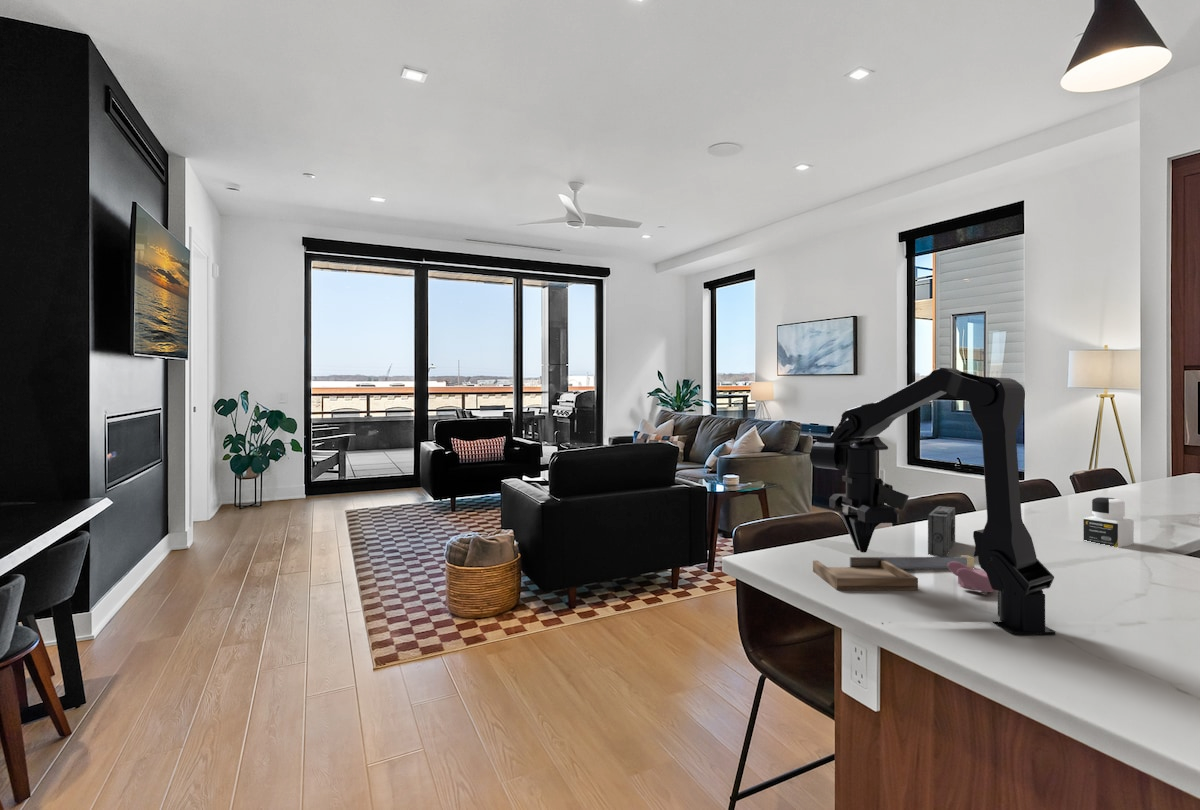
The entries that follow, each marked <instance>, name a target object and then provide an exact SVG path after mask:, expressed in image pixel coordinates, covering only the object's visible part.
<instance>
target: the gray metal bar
mask: <svg viewBox="0 0 1200 810" xmlns="http://www.w3.org/2000/svg"><path fill="white" fill-rule="evenodd" d="M881 561H887V562H889V563H891V564H893V565H895V566H896V567H898V568H900V569H902V570H949V568H948V566H947V565H948V563H949V562H951V561H957V562H960V563H962V564H964V565H966V566H968V567H970V568H974V569H975V557H974V556H971V555H969V554H961V555H960V556H946V557H943V556H849V567H881Z"/></svg>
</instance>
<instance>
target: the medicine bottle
mask: <svg viewBox="0 0 1200 810" xmlns="http://www.w3.org/2000/svg"><path fill="white" fill-rule="evenodd" d="M1125 505H1126V504H1125V501H1124V500H1122V499H1120V498H1114V497H1104V496H1103V497H1099V496H1098V497H1095V498H1093V499H1092V500H1091V510H1092V511H1091V514H1092V515H1093V516H1085V517H1083V541H1084V540H1087V541H1091V542H1096V543H1100V544H1099V545H1101V544H1105V545H1104V546H1106V545H1110V546H1109V547H1112V546H1114V547H1113V548H1117V547H1119V548H1122V546H1123V547H1126V546H1127V547H1128V546H1132V545H1134V542H1135V541H1134V539H1135V538H1134V536H1135V534H1134V528H1135V527H1134V525H1135V524H1134V520H1133V519H1130V518H1125V517H1126V512H1125V511H1126V506H1125ZM1091 542H1090V543H1091ZM1096 543H1095V544H1096ZM1131 544H1132V545H1131Z"/></svg>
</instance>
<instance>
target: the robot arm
mask: <svg viewBox="0 0 1200 810" xmlns="http://www.w3.org/2000/svg"><path fill="white" fill-rule="evenodd" d="M946 394H948V395H950V396H953V397H954V398H957V399H959V400H963V401H965V402H968V405H969V409H970V412H971V416H972V418H973V421H974V422H975V423H976V426H977V427H978V429H979V430H980V433H981V442H982V443H981V445H982V457H983V458H982V459H983V471H984V472H983V473H984V475H983V477H984V487H985V503H986V523H985V525H984V528H983V529H978V530H974V531H973V533H972V534H973V535H972V537H973V540H974V545H975V547H974V548H975V549H974V553H973V557H974V558H976V557H977V561H978V565H979V567H980V568H981V570H982V571H985V572H986V573H987V576H988V579H989V582H990V584H991V587H992V589H993V590H995V591H997V616H998V617H999V621H992V624H995V625H996V626H998V627H1000V628H1001V629H1004V630H1005V631H1007V632H1008V633H1011V634H1013V635H1017V636H1018V635H1027V636H1028V635H1030V636H1033V635H1036V636H1037V635H1039V636H1040V635H1048V636H1049V635H1051V636H1052V635H1056V630H1054V629H1052V628H1051V627H1048V626H1046V594H1045V593H1044V591H1043V590H1045V589H1050V588H1051V586H1052V584H1053V582H1054V581H1055V580H1054V579H1055V575H1053V574H1052V572H1051V571H1049V569H1048V568H1047V567H1046V566H1045V565H1044V564H1043V563H1042V562H1041V561H1040V560H1039V559H1038V558H1037V554H1036V550H1035V547H1034V546H1035V545H1034V541H1033V538H1032V536H1031V534H1030V532H1029V530H1028V528H1027V527H1026V526H1025V523H1024V522H1023V518H1022V507H1021V506H1022V505H1021V504H1022V503H1021V490H1020V478H1019V476H1020V475H1019V462H1018V448H1017V446H1018V445H1017V429H1018V427H1019V425H1020V422H1021V419H1022V417H1023V415H1024V409H1025V399H1026V391H1025V388H1024V386H1023V384H1021V383H1020V382H1018V381H1017V380H1015V379H1013V378H1012V377H996V376H995V377H994V376H993V377H992V376H991V377H990V376H982V375H981V376H980V375H977V374H972V373H969V372H965V371H961V370H959V369H958V368H954V367H950V368H949V367H939V368H935V369H934V370H933V371H931V372H930V373H929V374H927V375H925V376H923V377H921V378H918V379H917V380H916V381H914V382H911V383H910V384H908V385H907V386H904V387H902V388H900V389H898V390H897V391H895V392H893V393H891V394H889V395H888V396H886V397H884V398H882V399H880V400H877V401H874V402H871V403H866V404H862V405H858V406H855V407H851V408H847V410H845V411H844V412H843V413H842V414H841V419H840V422H839V423H838V425H837V426H836V428H835V430H834V431H833V432H832V434H831V435H830V436H829V435H816V441H815V442H814V443H813V444H812V446H811V448H810V451H809V460H810V463H811V464H812V466H813V467H815V468H819V469H827V470H829V469H830V470H837V471H842V470H844V469H845V475H842V476H841V478H842V482H845V493H833V494H832V495H831V496H830V497H828V498H829V499H828V500H829V503H828V504H829V506H828V507H829V508H831V509H835V510H837V509H838V508H842V511H841V512H838V514H839V516H840V518H841V519H842V521H843V524H844V526H845V527H846V529H847V531H848V533H849V536H850V539H851V540H852V542H853V545H854V547H855V550H857V551H860V553H864V554H865V553H867V551H868V548H869V545H870V543H871V540H872V537H873V535H874V532H875V529H876V527H877V526H879V525H880V524H899V522H900V519H899V518H900V515H899V514H900V512H899V511H898V510H900V511H905V507H906V505H907V502H908V499H909V496H910V495H909V494H905V493H903V492H900V491H897V490H896V489H893V485H892V484H889V483H886V482H884V480H883V479H882V478H881V477H878V451H887V450H889V447H888V445H887V444H886V443H884V442H883V441H882V440H881V439H880V437H877V436H878V435H880V434H881V433H883V432H884V431H885V430H886V429H888V428H890V426H891V425H892V423H893V422H894V421H896V419H898V418H900V417H901V416H905V415H906V414H907V413H910V412H912V411H914V410H916V409H918V408H919V407H922V406H923V405H926V404H928V403H930V402H933V401H934V400H937V399H938V398H940V397H942V396H944V395H946ZM867 438H870V439H869V440H866V439H867ZM851 443H853V444H852V445H851ZM897 509H898V510H897Z"/></svg>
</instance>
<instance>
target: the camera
mask: <svg viewBox="0 0 1200 810" xmlns="http://www.w3.org/2000/svg"><path fill="white" fill-rule="evenodd" d="M954 542H955V543H956V507H954V506H944V505H943V506H942V505H938V506H937V507H936V508H934V509H933V510H932V511H931V512H929V514H928V515H927V555H929V554H930V555H929V556H935V555H937V556H936V557H943V556H945V557H948V555H947V554H949V553H950V552H951V549H952V547H953V546H954V545H955V543H954ZM953 544H954V545H953ZM948 552H949V553H948Z"/></svg>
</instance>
